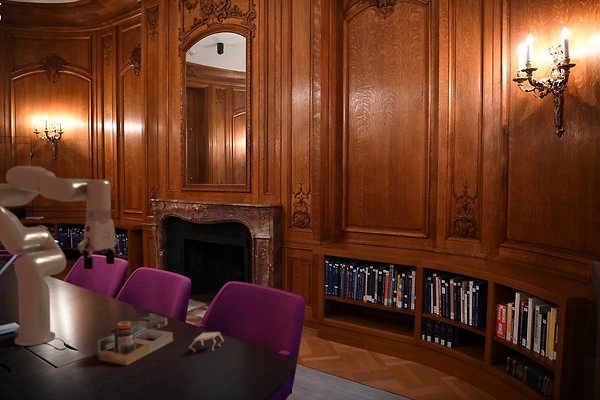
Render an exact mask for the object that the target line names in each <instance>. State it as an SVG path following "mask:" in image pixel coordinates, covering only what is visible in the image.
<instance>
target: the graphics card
mask: <svg viewBox="0 0 600 400" xmlns="http://www.w3.org/2000/svg"><path fill="white" fill-rule="evenodd" d="M143 321H147V330H148V329H152V330H156V329H160V328H163V327H165V326H168V317H164V316H162V315H158V314H155V313H148V316H146V317H142V318H139V319H134V320H130V321H129V322H131V326H134V325H136V324H138V323H141V322H143ZM116 326H117V327H116V329H118V324H116Z"/></svg>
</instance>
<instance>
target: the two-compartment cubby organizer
mask: <svg viewBox="0 0 600 400" xmlns="http://www.w3.org/2000/svg"><path fill="white" fill-rule="evenodd" d="M131 328H133V330H134V351H132V352H130V353H128V354H123V353H117V352H115V333H113V334H110V335H108V336H105V337H103V338H101V339H98V340H97V360H99V361H101V362H106V363H107V362H108V363H113V364H119V365H124V366H128V365H130V364H132V363H133V362H135V361H137V360H139V359H141V358H143V357H145V356H147V355H148V354H150V353H153V352H154V351H156V350H158V349H160V348H162V347H164V346H165V345H167V344H170V343H171V342H173V341H174V333H173V332H171V331H164V330H159V329H157V330H156V329H152V328H151V329H147V321H143V322H141V323H138V324H136V325H134V326H131ZM148 339H150V340H148ZM151 339H153V340H151Z"/></svg>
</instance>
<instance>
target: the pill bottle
mask: <svg viewBox="0 0 600 400" xmlns="http://www.w3.org/2000/svg"><path fill="white" fill-rule="evenodd" d="M117 325H118V328H116V330H115V331H114V334H115V352H117V353H123V354H128V353H130V352H132V351H134V330H133V328H131V322H130V321H128V320H126V321H119V322H118V323H117Z"/></svg>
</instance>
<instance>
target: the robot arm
mask: <svg viewBox="0 0 600 400" xmlns="http://www.w3.org/2000/svg"><path fill="white" fill-rule="evenodd" d="M5 180H6V182H7V183H0V242H1V244H2V246H3V247H4V249H5V250H6V251H7V252H8V253H9V254H11V255H13V256H19V255H20V257H18V258H17V259H16V261H15V263H14V271H15V275H16V280H17V284H18V285H17V286H18V309H19V310H18V315H19V325H18V326H17V328H15V329H14V330H13V331H14V333H16V334H18V336H16V338H15V339H14V344H15V345H17V346H22V347H23V346H24V347H25V346H26V347H29V346H37V345H43V344H46V343H49V342H51V341H53V340H54V339H55V338H56V333H55V332H54V331H51V299H50V297H51V295H50V294H51V293H50V287H49V285H48V283H47V281H46V279H45V278H46V277H50V276H53V275H57V274H60V273H62V272H63V271H64V270H65V269H66V267H67V258H66V255H65V253H64V252H63V250H62V248H61V247H60V246H59V244H58V243H57V242H56V240H55V239H54V237H53V236H52V234H51V232H49V231H48V230H47V229H45V228H43V227H40V226H29V227H27V226H24V224H23V223H22V222H21V221H20V220H19V218H18V217H17V216H16V214H14V212H12V211H10V210H8V209H7V208H5V207H18V206H25V205H27V204H28V203H30V202H31V201H32V200H34V199H35V198H36V197H37V196H38V195H41V196H42V197H44V198H46V199H49V200H54V201H59V202H82V201H84V202H85V201H86V213H85V218H86V220H85V225H84V231H83V240H82V241H81V242H79V243H78V244H77V249H78V250H79V251H78V252H79V253H80V255H81V256H82V258H83V268H84V270H93V269H94V258H93V256H92V255H93V253H95V252H99V251H104V250H106V252H105V263H106V264H107V265H114V264H115V253H116V251H117V249H118V245H119V241H120V239H119V238H118V237H116V230H115V224H114V220H113V219H112V210H111V209H112V208H111V207H112V200H111V199H112V198H111V197H112V195H111V194H112V193H111V192H112V191H111V188H112V187H111V182H110V181H109V180H108V179H88V178H63V177H58V176H56V174H55V173H53V172H52V171H50V170H47V169H46V168H44V167H42V166H37V165H36V166H35V165H34V166H32V165H30V166H29V165H17V166H14V167H11V168H10V169H8V171H7V172H6V174H5Z"/></svg>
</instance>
